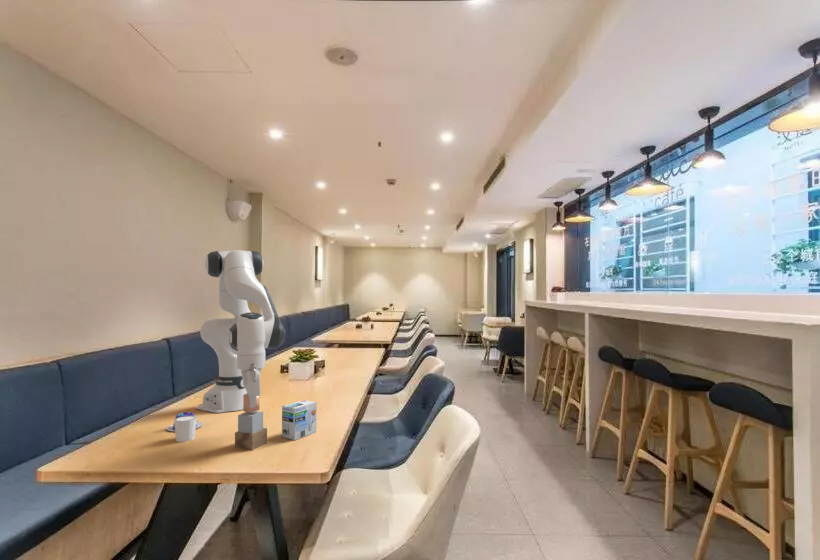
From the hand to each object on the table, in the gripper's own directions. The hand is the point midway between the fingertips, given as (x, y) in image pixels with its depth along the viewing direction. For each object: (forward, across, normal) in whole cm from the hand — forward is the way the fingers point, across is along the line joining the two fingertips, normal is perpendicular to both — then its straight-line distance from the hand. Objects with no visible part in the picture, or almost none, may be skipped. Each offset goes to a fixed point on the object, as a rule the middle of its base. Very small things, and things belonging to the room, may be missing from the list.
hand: (251, 404), depth 141 cm
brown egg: (+2, 0, 0) cm, 2 cm away
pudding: (+14, +32, +20) cm, 40 cm away
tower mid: (+8, 0, 0) cm, 8 cm away
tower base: (+13, 0, 0) cm, 13 cm away
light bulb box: (+13, +3, -16) cm, 21 cm away
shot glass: (+13, +17, +20) cm, 29 cm away
